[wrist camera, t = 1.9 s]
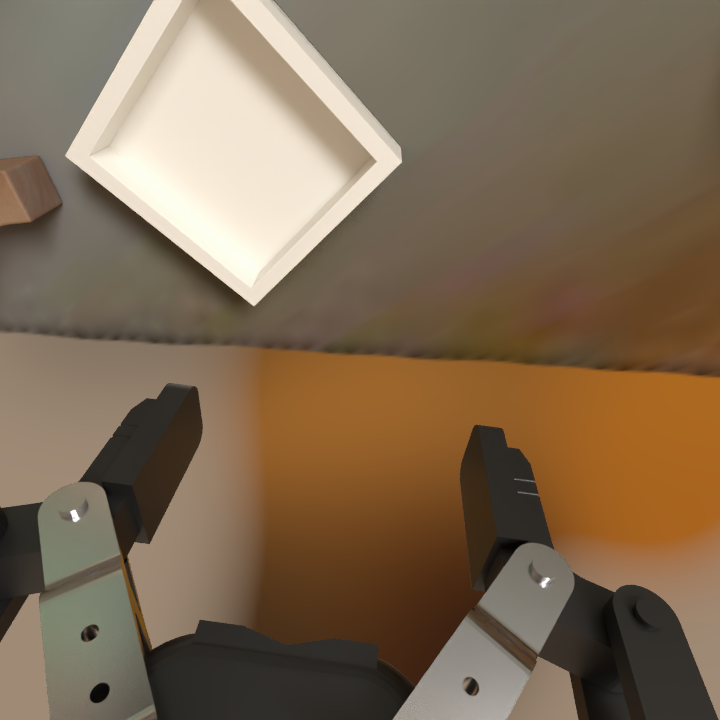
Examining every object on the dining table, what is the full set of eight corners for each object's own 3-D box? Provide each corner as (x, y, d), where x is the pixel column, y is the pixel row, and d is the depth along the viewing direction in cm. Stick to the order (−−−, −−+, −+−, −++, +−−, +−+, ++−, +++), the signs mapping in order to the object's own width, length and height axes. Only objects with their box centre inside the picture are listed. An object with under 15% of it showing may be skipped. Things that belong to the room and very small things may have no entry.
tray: (95, 142, 30) (65, 155, 27) (218, -64, 24) (195, -73, 21) (264, 282, 36) (253, 306, 33) (400, 147, 29) (401, 162, 27)
